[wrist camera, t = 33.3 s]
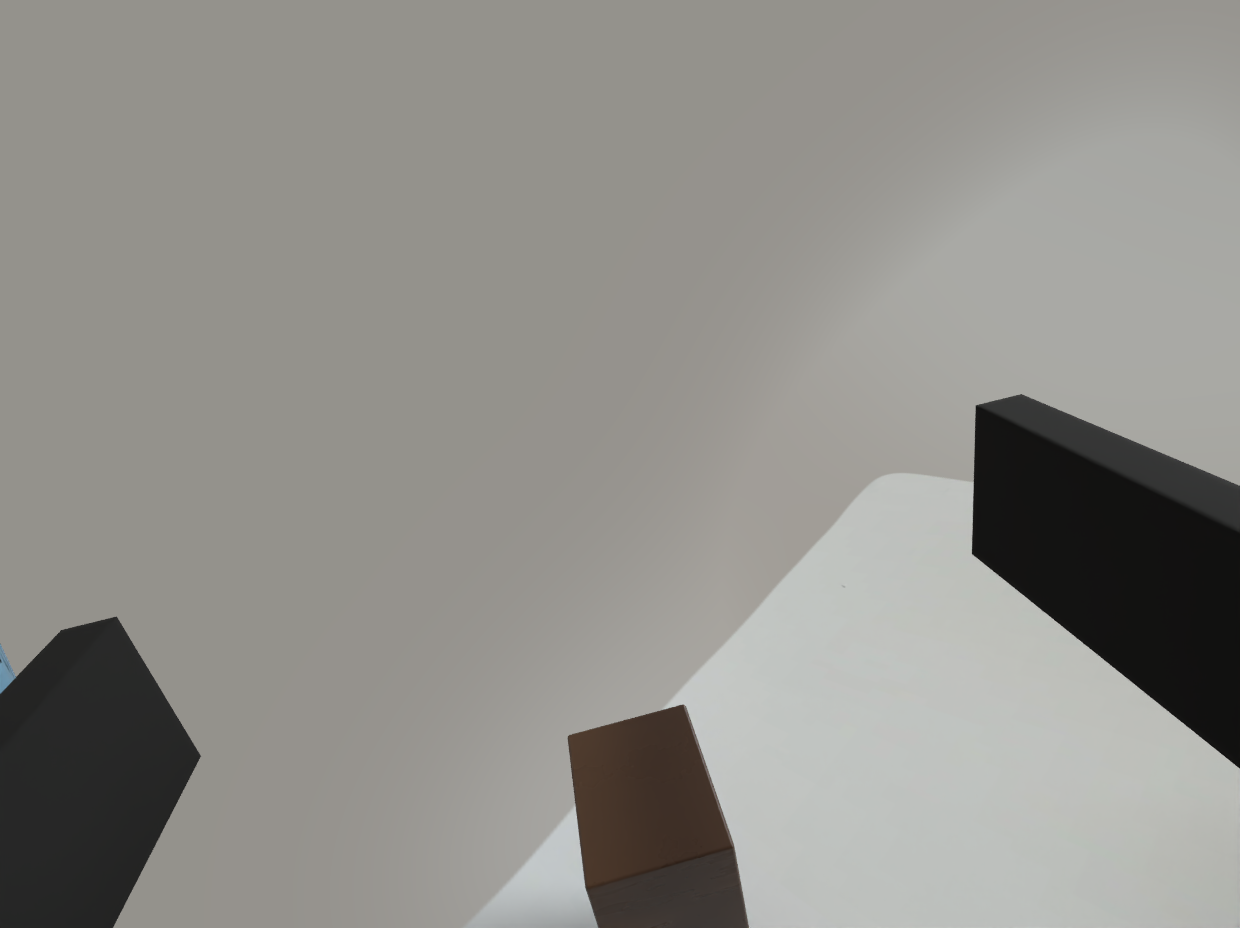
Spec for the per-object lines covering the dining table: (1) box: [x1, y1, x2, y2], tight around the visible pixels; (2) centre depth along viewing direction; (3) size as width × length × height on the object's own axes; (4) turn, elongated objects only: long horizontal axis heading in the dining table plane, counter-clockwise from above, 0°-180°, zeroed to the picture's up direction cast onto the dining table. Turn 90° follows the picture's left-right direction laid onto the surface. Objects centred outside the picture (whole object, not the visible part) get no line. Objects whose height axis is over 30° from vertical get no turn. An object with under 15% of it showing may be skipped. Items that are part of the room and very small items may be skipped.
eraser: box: [568, 705, 749, 928], centre depth 25 cm, size 4×6×12 cm
